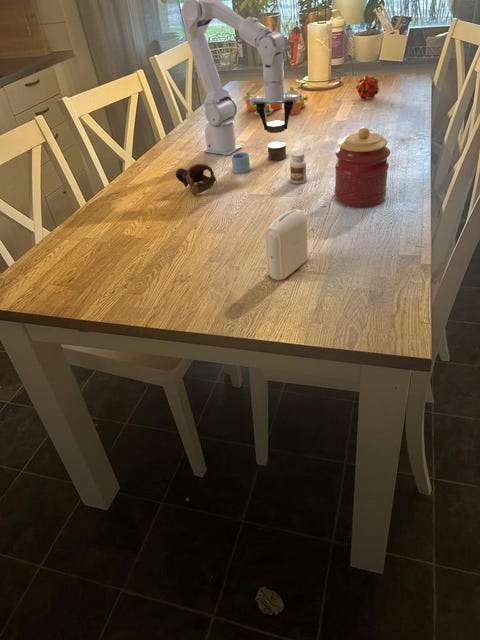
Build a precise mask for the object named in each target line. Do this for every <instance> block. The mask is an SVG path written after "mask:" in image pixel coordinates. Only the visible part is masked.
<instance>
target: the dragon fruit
mask: <svg viewBox="0 0 480 640" xmlns="http://www.w3.org/2000/svg"><path fill="white" fill-rule="evenodd" d="M355 88H356V91H357V94H358V96H359V97H360V99H361V100H367V98H369V99H370V98H371V99H373V98H374V97H375V96H376V95H377V94H378V93H379V90H380V88H379V79H377V78H375V77H374V76H368V75H365V76H364V78H360V79H359V81H358V83H357V85H356V87H355Z"/></svg>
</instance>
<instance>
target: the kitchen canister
mask: <svg viewBox="0 0 480 640" xmlns="http://www.w3.org/2000/svg"><path fill="white" fill-rule="evenodd" d="M338 145H339V147H338V149H337V150H335V156H336V159H337V162H336V163H335V166H334V168H335V181H334V183H335V185H334V196H335V197H334V198H335V200H336V201H337V202H338V203H339V204H340V205H344V206H346V207H351V208H369V207H373V206H376V205H379V204H381V203H382V202H384V200H385V199H386V195H387V189H388V188H387V179H388V172H389V168H390V167H389V166H390V164H389V162H388V157H389V156H390V155H391V150H390V148H389V147H387V145H388V140H387V139H386V138H385V137H383V136H382V135H381V134H380V133H378V132H377V133H376V132H373V131H370V129H369V128H368V127H365V126H362V127H361V128H359V130H358V132H353V133H350V134H348V135H346V136H345V137H344V138H342V139H341V140H340V141H339V144H338Z"/></svg>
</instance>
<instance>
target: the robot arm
mask: <svg viewBox="0 0 480 640" xmlns="http://www.w3.org/2000/svg"><path fill="white" fill-rule="evenodd" d="M180 14H181V17H182V20H183V23H184V34H185V38H186V40H187V43H188V46H189V49H190V51H191V55H192V57H193V61H194V62H195V65H196V69H197V71H198V75H199V76H200V79H201V82H202V85H203V88H204V91H205V94H206V96H205V98H204V101H203V106H204V111H205V118H206V120H207V124H206V125H205V127H204V136H205V144H206V150H205V152H206V153H211V154H216V155H225V156H230V155H232V154H234V153H235V152H236V151H238V150H239V149H241V148H242V146H241V145H237V144H236V134H235V123H234V121H235V117H236V115H237V112H238V106H237V103H236V101H234V99H233V98H232V96H231V93H230V91H228V90H227V89H225V88H224V86H223V84H222V81H221V77H220V75H219V72H218V69H217V66H216V63H215V60H214V57H213V54H212V52H211V48H210V46H209V43H208V39H207V37H206V32H207V29H208V28H209V25H211V23H212V22H213V21H214V20H215V19H216V20H218V21H220V22H221V23H223V24H225V25H226V26H229V27H230V28H232V29H234V30H236V31H238V35H239V38H240V39H241V40H243V41H244V42H246V43H248V44H249V45H251V46H252V47H254V48H255V49H257V51H258V54H259V56H260V57H261V63H262V73H263V92H264V94H263V95H259V96H258V95H257V96H258V97H250V106H253V105H256V109H257V110H256V111H257V112H258V113H259V115H258V116H259V117H260V120H261V123H262V125H263V130H264V131H267V125H266V124H267V123H268V118H267V115H266V104H279V103H285V105H284V104H283V112H284V122H285V125H284V127H285V130H287V129H288V124H289V118H290V116H291V115H290V112H291V110H292V107H293V103H299V94H297V95H293V94H284V93H285V81H284V80H285V79H284V77H285V76H284V51H285V50H286V48H287V40H286V37H285V35H284V34H283V33H282V32H281V31H280V30H279V29H277V30H272V28H271V27H270V26H265V25H263V24H262V23H260V22H259V21H258V18H257V17H256V16H253V17H251V16H248V17H246V18H245V17H243V16H241V15H240V14H239V13H237V12H236V11H235V10H233V9H232V8H230V7H229V6H228V5H226V4H225V3H224V2H223V1H221V0H184V1H183V4H182V6H181V9H180Z"/></svg>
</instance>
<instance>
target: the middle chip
mask: <svg viewBox="0 0 480 640" xmlns="http://www.w3.org/2000/svg"><path fill="white" fill-rule="evenodd" d="M284 152H286V153H287V143H285V142H284V141H283V142H282V141H274V142H270V143H268V144H267V154H268V153H270V154H282V153H284Z"/></svg>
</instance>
